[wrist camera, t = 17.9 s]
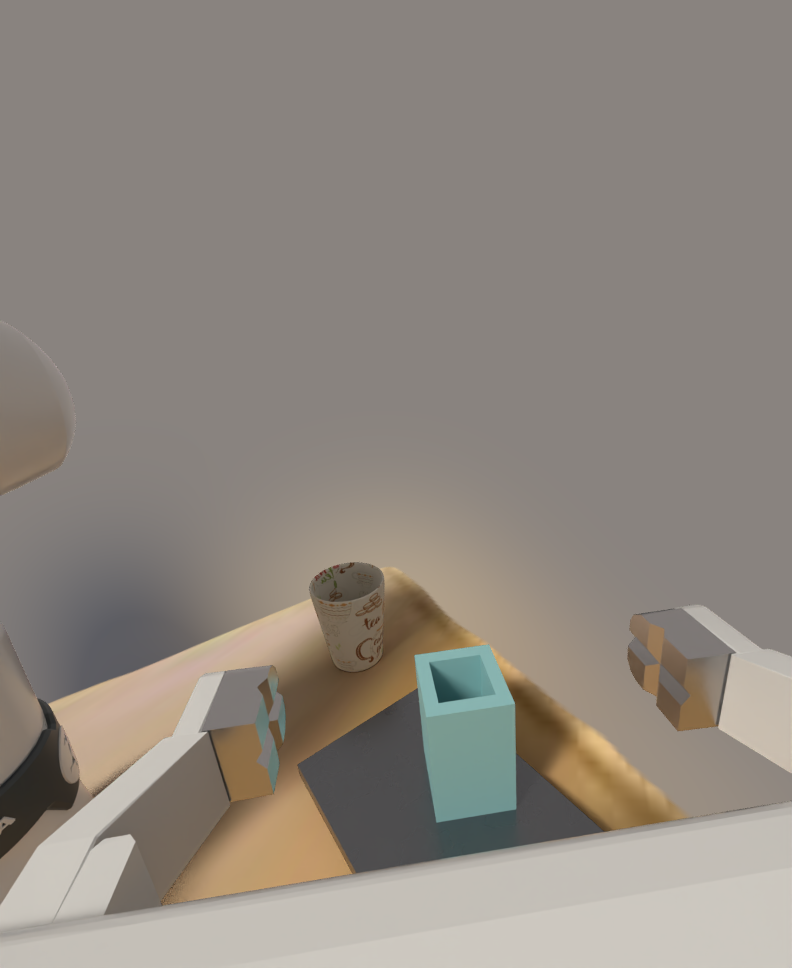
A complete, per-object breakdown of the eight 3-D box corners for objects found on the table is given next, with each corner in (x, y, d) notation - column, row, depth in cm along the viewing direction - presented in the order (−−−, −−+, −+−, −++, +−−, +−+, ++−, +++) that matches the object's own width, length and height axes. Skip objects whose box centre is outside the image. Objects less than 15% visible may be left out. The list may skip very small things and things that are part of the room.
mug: (346, 692, 46) (333, 612, 43) (294, 637, 56) (280, 568, 53) (406, 654, 51) (399, 579, 48) (349, 609, 60) (339, 544, 57)
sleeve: (516, 809, 32) (515, 703, 29) (436, 822, 32) (426, 717, 29) (492, 739, 38) (488, 644, 35) (424, 749, 38) (414, 655, 34)
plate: (457, 1069, 22) (449, 996, 20) (299, 774, 38) (286, 717, 36) (620, 858, 30) (627, 791, 28) (432, 688, 46) (428, 637, 43)
